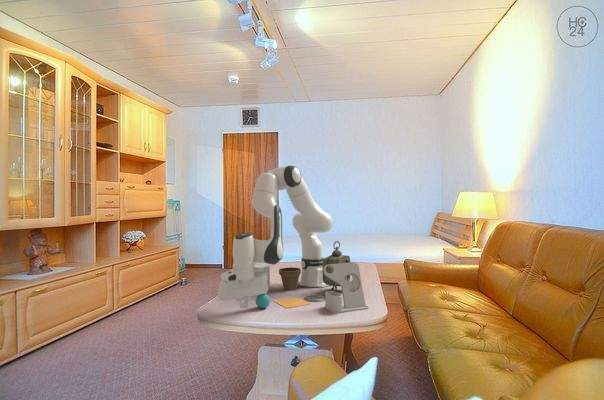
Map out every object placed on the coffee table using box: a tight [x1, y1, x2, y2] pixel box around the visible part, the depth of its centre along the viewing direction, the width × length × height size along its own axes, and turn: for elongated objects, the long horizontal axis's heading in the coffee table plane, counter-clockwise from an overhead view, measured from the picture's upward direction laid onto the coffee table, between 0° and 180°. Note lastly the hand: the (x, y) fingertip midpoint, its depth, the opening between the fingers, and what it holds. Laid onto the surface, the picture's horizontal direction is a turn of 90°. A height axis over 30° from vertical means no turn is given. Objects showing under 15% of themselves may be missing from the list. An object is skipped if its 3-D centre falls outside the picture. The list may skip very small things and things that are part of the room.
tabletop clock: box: [322, 240, 351, 294], centre depth 165 cm, size 14×9×25 cm, turn 148°
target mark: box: [273, 296, 311, 309], centre depth 146 cm, size 12×12×1 cm
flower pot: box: [278, 266, 302, 291], centre depth 171 cm, size 12×11×10 cm
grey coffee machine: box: [323, 261, 371, 314], centre depth 139 cm, size 17×10×18 cm, turn 111°
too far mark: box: [303, 294, 326, 303], centre depth 152 cm, size 10×10×1 cm
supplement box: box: [254, 264, 271, 291], centre depth 167 cm, size 7×7×13 cm
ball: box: [255, 293, 271, 309], centre depth 139 cm, size 6×6×6 cm
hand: (243, 307), depth 135 cm, fingers closed
